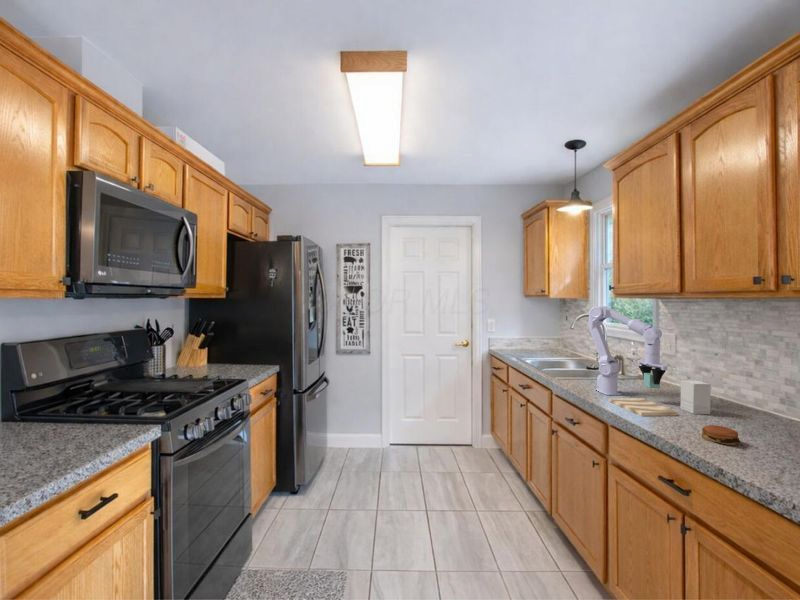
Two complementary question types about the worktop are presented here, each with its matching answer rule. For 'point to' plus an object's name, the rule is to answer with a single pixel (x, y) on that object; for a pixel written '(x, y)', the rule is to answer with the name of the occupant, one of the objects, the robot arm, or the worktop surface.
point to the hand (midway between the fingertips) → (651, 382)
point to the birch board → (644, 407)
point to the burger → (720, 435)
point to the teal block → (650, 381)
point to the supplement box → (695, 396)
